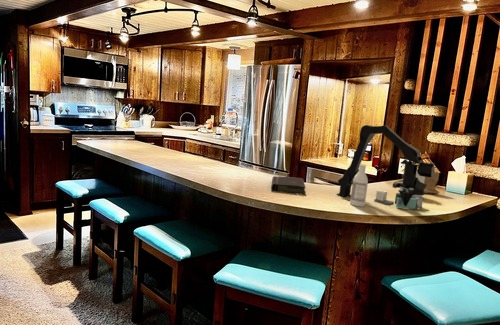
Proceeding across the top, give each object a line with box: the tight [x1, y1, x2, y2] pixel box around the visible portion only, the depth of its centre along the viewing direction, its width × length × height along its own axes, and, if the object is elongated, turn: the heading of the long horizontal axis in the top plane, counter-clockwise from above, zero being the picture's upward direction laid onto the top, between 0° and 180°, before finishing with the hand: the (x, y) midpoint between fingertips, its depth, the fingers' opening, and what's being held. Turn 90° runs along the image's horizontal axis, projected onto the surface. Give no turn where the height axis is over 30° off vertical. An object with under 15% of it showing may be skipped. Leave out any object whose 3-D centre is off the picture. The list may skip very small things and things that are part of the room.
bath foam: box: [349, 163, 369, 208], centre depth 184 cm, size 7×7×20 cm
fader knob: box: [375, 189, 388, 201], centre depth 199 cm, size 4×4×5 cm
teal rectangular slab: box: [395, 197, 417, 210], centre depth 188 cm, size 10×2×5 cm, turn 100°
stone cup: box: [424, 171, 440, 194], centre depth 242 cm, size 15×12×15 cm
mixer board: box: [373, 198, 395, 206], centre depth 198 cm, size 6×8×1 cm
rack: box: [394, 192, 424, 210], centre depth 195 cm, size 9×12×6 cm
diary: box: [270, 175, 306, 195], centre depth 211 cm, size 19×25×5 cm
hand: (405, 205), depth 185 cm, fingers closed
